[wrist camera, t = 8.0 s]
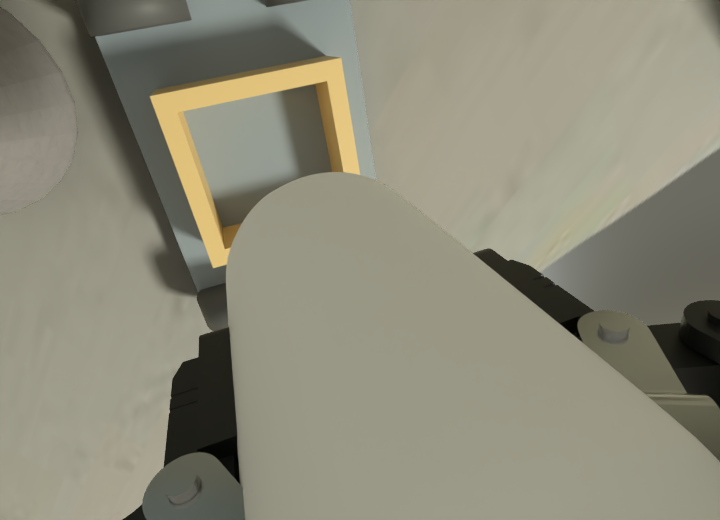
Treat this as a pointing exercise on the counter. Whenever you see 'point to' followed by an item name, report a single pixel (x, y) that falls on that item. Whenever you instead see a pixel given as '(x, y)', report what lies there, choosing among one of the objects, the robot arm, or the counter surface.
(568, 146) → the counter surface
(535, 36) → the counter surface
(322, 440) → the can
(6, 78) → the coffee pot
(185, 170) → the chassis
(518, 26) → the counter surface
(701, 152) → the counter surface
